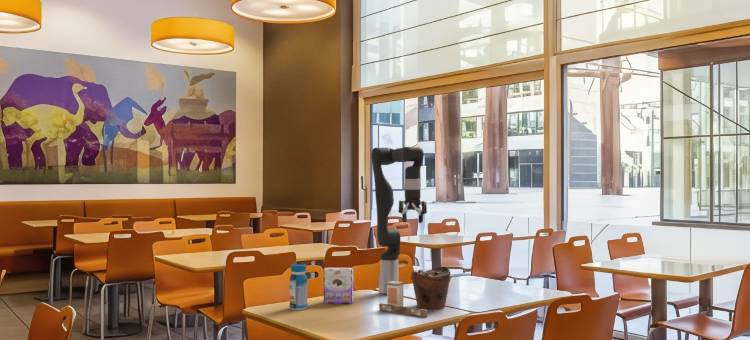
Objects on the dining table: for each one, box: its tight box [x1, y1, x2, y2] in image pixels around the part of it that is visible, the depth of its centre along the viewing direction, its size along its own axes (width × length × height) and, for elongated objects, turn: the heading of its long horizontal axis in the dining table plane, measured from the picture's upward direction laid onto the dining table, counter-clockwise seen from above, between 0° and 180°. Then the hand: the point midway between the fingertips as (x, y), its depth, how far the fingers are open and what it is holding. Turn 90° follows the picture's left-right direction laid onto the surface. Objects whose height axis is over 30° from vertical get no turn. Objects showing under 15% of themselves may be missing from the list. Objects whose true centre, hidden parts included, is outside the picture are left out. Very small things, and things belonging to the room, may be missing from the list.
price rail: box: [378, 303, 429, 318], centre depth 283 cm, size 24×2×3 cm, turn 56°
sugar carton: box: [386, 281, 405, 307], centre depth 294 cm, size 6×6×12 cm
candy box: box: [322, 267, 354, 305], centre depth 308 cm, size 14×6×16 cm, turn 84°
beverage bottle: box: [288, 263, 309, 311], centre depth 294 cm, size 8×8×20 cm
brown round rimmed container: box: [410, 266, 451, 310], centre depth 299 cm, size 18×20×18 cm
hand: (412, 222), depth 308 cm, fingers open, 8 cm apart
